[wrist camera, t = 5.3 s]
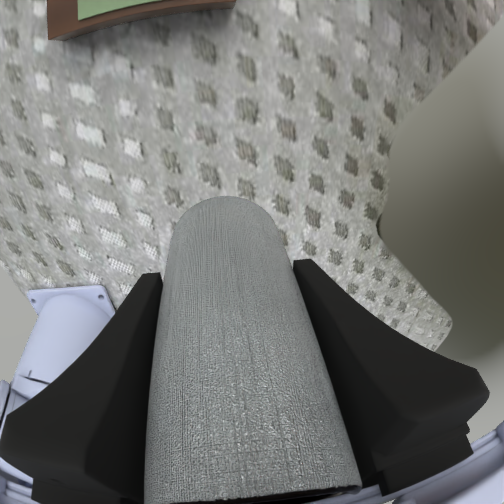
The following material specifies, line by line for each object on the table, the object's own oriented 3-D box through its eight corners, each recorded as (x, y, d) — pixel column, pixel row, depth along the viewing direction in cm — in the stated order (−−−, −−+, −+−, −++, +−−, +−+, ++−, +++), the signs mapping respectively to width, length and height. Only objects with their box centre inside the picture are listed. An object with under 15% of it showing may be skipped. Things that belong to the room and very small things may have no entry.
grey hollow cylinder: (248, 173, 11) (335, 479, 3) (295, 258, 14) (376, 493, 5) (150, 229, 12) (97, 504, 4) (208, 299, 15) (221, 527, 6)
